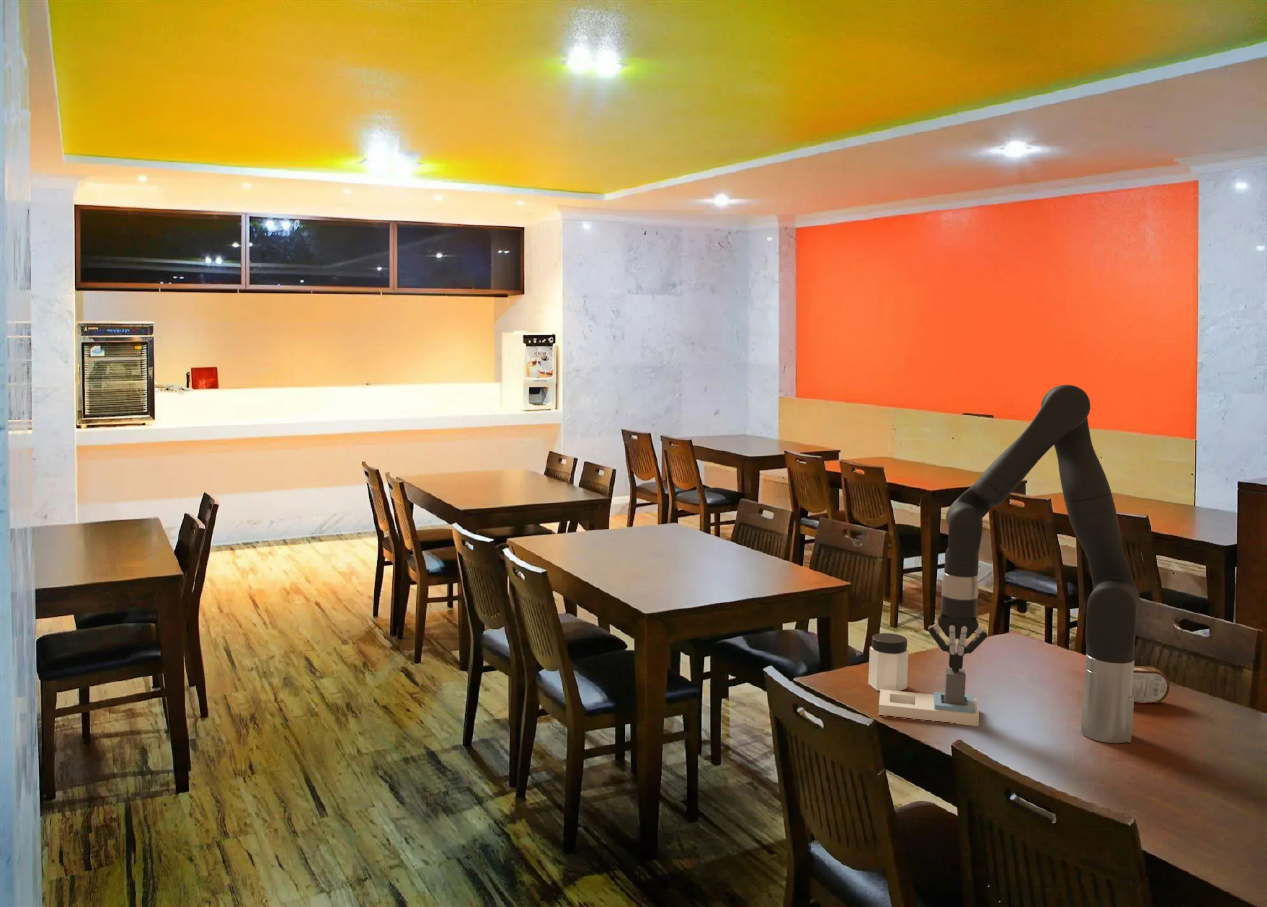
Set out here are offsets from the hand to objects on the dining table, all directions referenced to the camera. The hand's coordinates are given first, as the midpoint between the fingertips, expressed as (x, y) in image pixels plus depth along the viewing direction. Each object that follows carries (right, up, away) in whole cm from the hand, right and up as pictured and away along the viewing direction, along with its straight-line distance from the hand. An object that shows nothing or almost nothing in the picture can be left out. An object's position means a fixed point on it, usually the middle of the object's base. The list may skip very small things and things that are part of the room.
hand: (955, 669), depth 226 cm
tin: (+44, -10, +10) cm, 47 cm away
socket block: (-5, -10, +3) cm, 12 cm away
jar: (-10, -8, +19) cm, 23 cm away
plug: (0, -10, +1) cm, 10 cm away
